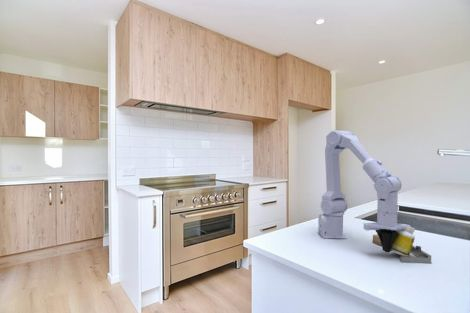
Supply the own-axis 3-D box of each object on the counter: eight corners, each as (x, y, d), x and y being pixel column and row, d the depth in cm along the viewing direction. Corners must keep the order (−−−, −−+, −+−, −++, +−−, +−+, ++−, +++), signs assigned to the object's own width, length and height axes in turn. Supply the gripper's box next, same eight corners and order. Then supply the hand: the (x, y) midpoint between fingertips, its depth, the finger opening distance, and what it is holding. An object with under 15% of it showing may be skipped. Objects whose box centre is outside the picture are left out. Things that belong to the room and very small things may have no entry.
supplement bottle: (410, 259, 78) (419, 230, 78) (391, 251, 80) (399, 223, 81) (407, 255, 83) (415, 228, 83) (389, 248, 85) (397, 222, 85)
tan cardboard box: (381, 246, 90) (381, 238, 90) (372, 242, 94) (372, 234, 94) (394, 244, 92) (394, 236, 92) (384, 241, 96) (384, 233, 96)
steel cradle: (401, 262, 77) (402, 251, 77) (384, 249, 87) (384, 240, 87) (431, 263, 77) (431, 252, 76) (409, 250, 87) (410, 241, 86)
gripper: (371, 214, 78) (370, 255, 78) (417, 215, 78) (416, 256, 78) (360, 209, 85) (360, 247, 85) (403, 209, 85) (402, 248, 85)
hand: (386, 251), depth 82 cm, fingers closed
